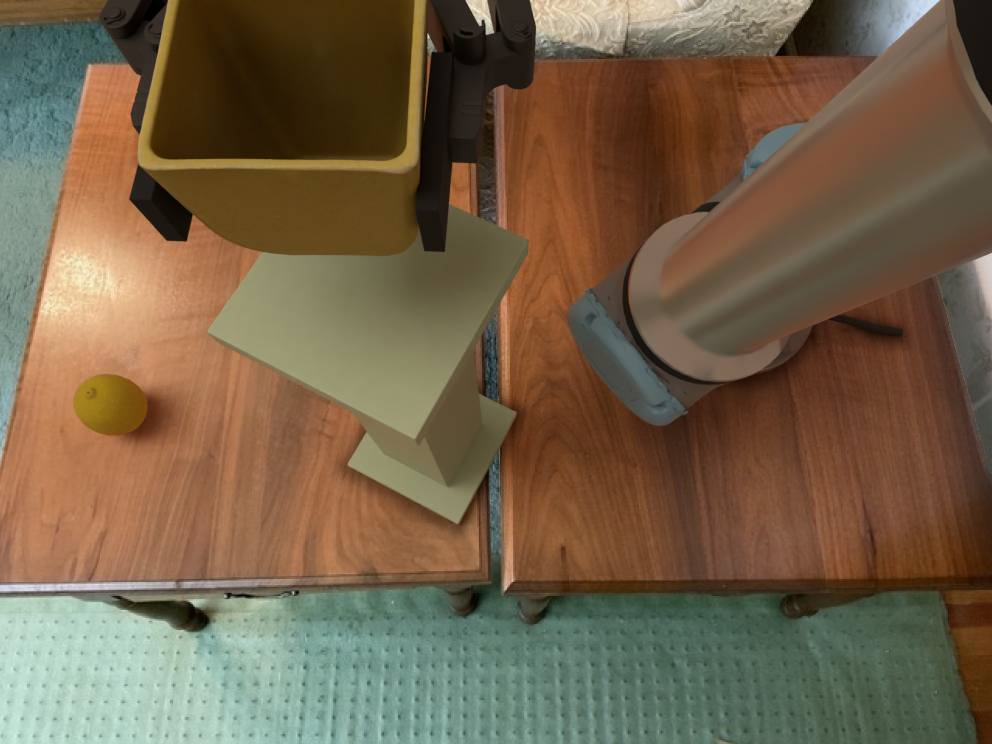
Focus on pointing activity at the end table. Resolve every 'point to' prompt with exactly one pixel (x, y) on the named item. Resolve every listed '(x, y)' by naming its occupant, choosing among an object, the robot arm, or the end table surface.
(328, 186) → the flower pot
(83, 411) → the lemon
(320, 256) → the plant stand
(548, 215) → the end table surface
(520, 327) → the end table surface
